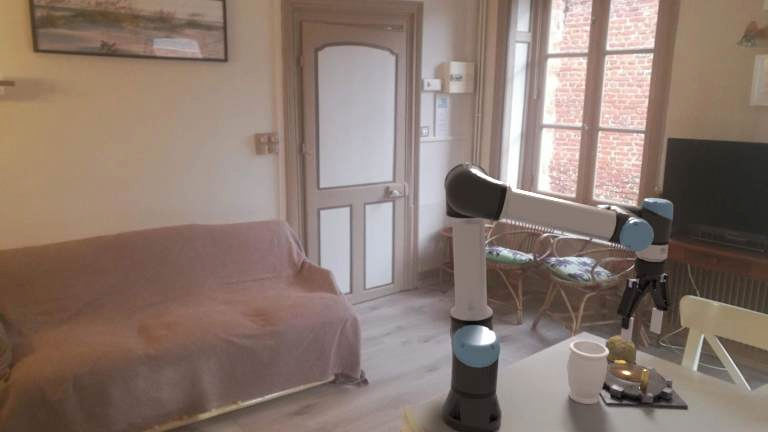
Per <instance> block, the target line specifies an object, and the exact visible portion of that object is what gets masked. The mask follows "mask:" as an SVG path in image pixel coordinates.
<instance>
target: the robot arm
mask: <svg viewBox="0 0 768 432" xmlns="http://www.w3.org/2000/svg"><path fill="white" fill-rule="evenodd" d="M443 187H444V190H445V191H444V192H445V213H446V217H447V218H448V219H449V220H451V222H452V243H453V244H452V247H453V248H452V249H453V251H452V252H453V278H454V303H455V304H454V306H453V307H452V308H451V309H450V312H449V315H450V316H449V317H450V318H449V320H450V321H449V322H450V327H449V335H450V341H451V343H450V344H451V357H452V358H451V378H450V379H451V380H450V389H449V391H448V393H447V396H446V398H445V401H444V403H443V406H442V419H443V421H444V422H445V423H446V424H447V426H449V427H450V428H452V429H453V430H456V431H459V432H494V431H495V430H497V429H498V428H499V427H500V426H501V424H502V410H501V406H500V403H499V399H498V395H497V387H498V373H499V358H500V354H501V345H500V343H501V342H500V338H499V336H498V334H497V333H496V332H495V331H494V311H493V309H492V308H491V307H490V306H489V305H488V297H487V295H488V294H487V287H488V286H487V253H486V252H487V250H486V249H487V248H486V246H487V245H486V220H490V221H493V222H500V221H502V220H509V221H514V222H517V223H522V224H525V225H531V226H535V227H540V228H544V229H548V230H551V231H552V230H553V231H558V232H563V233H566V234H570V235H571V234H572V235H575V236H580V237H585V238H589V239H594V240H598V241H602V242H607V243H611V244H614V245H619V246H622V247H623V248H625V249H626V250H629V251H631V252H635V255H636V256H635V257H634V264H633V270H634V271H635V272H636V275H635V278H633V279H632V278H627V279H626V284H625V287H624V291H623V294H622V296H621V299H620V302H619V305H618V308H617V309H616V314H617V315H619V316H621V317H622V319H621V325H620V326H621V331H620V335H621V339H624V340H626V341H628V342H631V341H632V336H633V330H634V329H633V327H634V321H635V320H634V319H635V317H633V315H634V314H635V312H636V310H637V308H638V306H639V304H640V303H641V301H642V299H643V297H646V295H647V294H649V293H650V296H651V299H652V302H653V303H654V307H653V308H652V311H651V312H652V313H651V319H650V327H649V332H652V333H655V334H658V335H660V334H661V330H662V323H663V320H664V313H665V312H668V311H669V308H670V307H671V304H672V303H671V297H670V295H671V294H670V287H669V279H670V275H669V274H667V273H666V267H667V266H666V265H667V258H668V253H669V244H670V235H671V232H672V224H673V220H674V218H673V217H674V204H673V202H672V201H671V200H669V199H664V198H659V197H658V198H656V197H650V198H649V197H646V198H643V200H642V201H641V203H640V205H636V206H634V205H618V204H617V205H615V204H597V205H595V206H591V205H587V204H583V203H579V202H573V201H570V200H565V199H561V198H556V197H552V196H549V195H548V196H547V195H543V194H540V193H535V192H531V191H525V190H522V189H516V188H512V187H511V186H510V184H509V183H508V182H506V181H500V180H498V179H495V178H493V177H490V176H489V175H488V172H487V171H486V170H485V168H483V167H482V166H480V165H479V164H477V163H472V162H462V163H459V164H457V165H455V166H453V167H452V168H451V169H449V171H448V172H447V174H446V175H445V179H444V186H443Z"/></svg>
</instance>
